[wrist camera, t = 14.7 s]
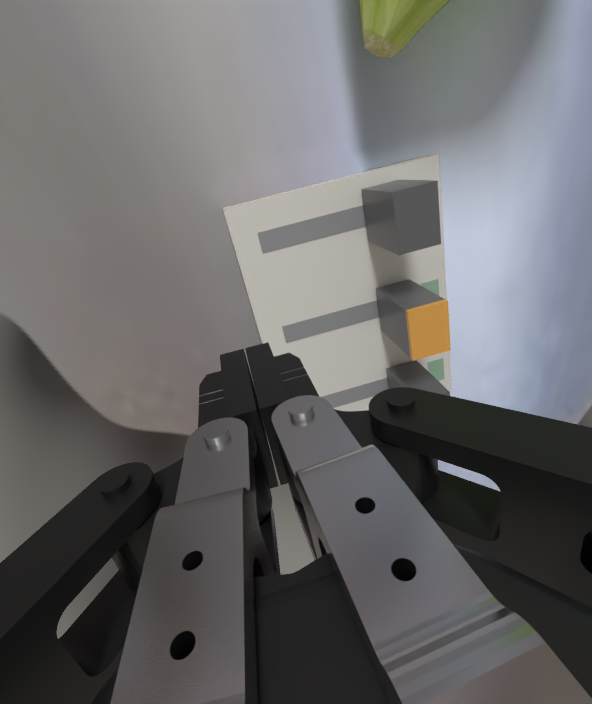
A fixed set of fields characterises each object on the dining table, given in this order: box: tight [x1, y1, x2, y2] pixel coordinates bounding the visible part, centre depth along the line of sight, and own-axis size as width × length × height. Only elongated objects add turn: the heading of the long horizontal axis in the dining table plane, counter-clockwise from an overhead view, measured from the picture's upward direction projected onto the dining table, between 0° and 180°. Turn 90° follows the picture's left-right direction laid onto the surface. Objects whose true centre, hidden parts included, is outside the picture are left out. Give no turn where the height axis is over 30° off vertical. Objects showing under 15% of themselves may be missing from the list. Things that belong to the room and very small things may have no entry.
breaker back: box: [386, 360, 450, 396], centre depth 35 cm, size 3×4×6 cm
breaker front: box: [361, 180, 441, 255], centre depth 28 cm, size 3×4×6 cm
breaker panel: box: [223, 154, 452, 411], centre depth 35 cm, size 17×22×2 cm
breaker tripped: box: [376, 279, 450, 361], centre depth 31 cm, size 3×4×6 cm
